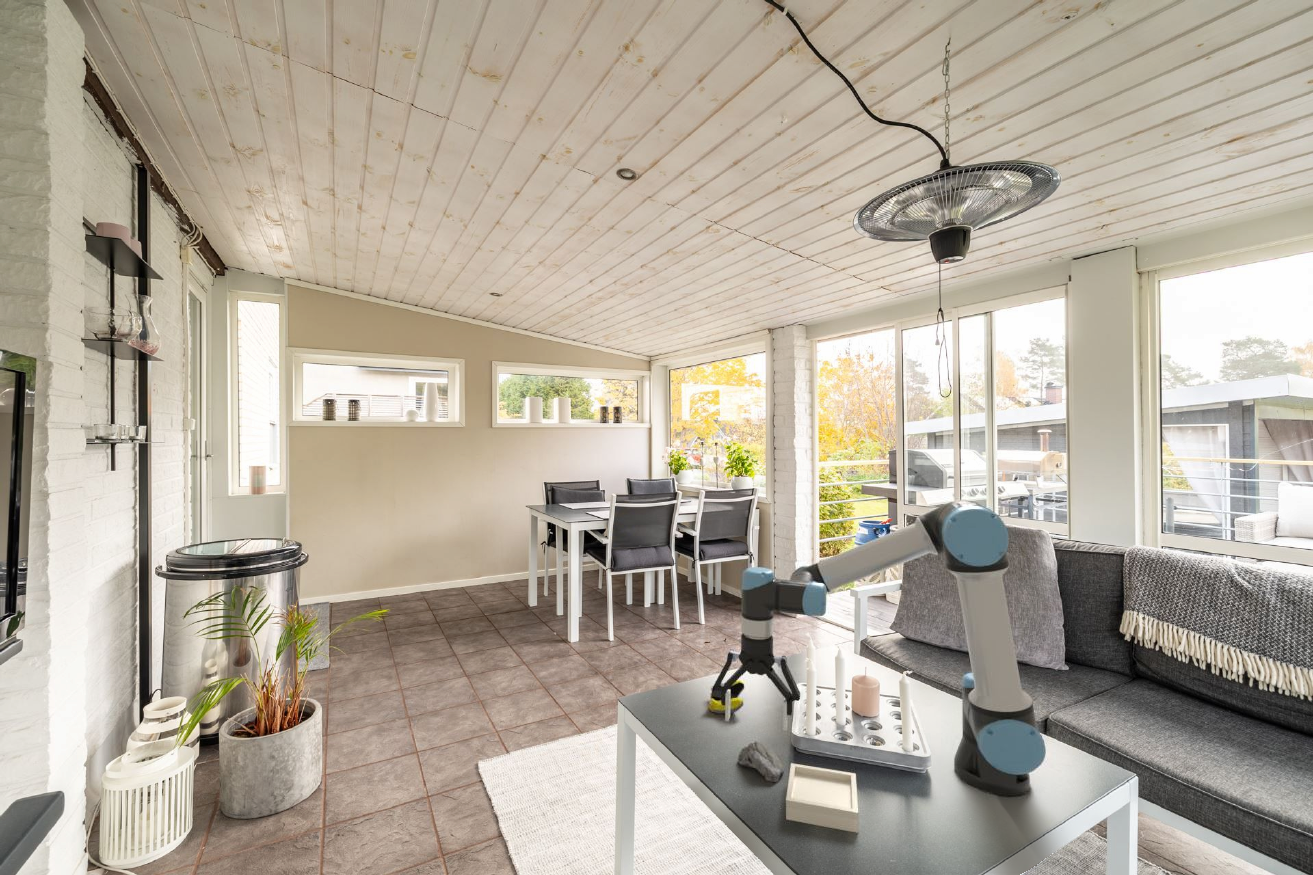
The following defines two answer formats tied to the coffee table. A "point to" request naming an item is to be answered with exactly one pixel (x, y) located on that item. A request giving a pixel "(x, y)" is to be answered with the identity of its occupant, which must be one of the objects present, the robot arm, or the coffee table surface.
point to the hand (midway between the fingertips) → (756, 723)
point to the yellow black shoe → (734, 701)
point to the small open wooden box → (822, 797)
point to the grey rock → (761, 761)
